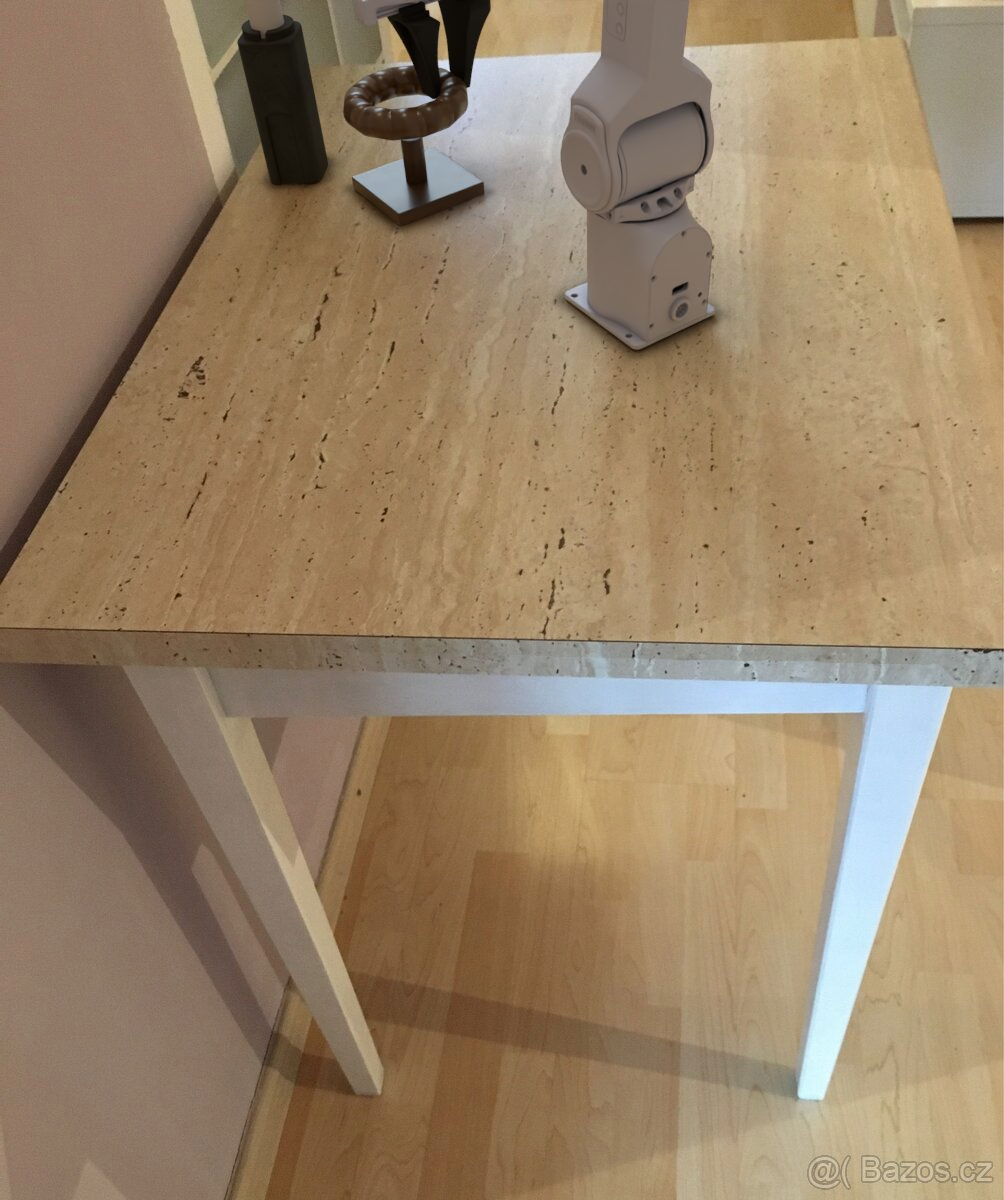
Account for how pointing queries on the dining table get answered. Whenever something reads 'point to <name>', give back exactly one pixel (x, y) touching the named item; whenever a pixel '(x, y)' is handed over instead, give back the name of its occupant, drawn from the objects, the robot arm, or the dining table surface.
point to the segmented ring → (403, 120)
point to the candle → (282, 94)
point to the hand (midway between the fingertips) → (446, 89)
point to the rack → (417, 184)
